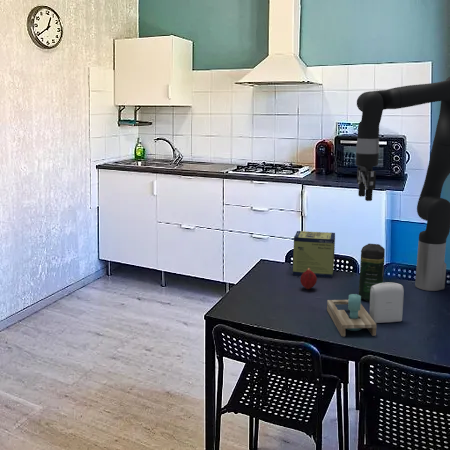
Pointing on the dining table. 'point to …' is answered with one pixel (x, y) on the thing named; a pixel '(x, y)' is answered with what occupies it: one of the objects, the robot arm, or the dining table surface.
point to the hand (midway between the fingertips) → (365, 198)
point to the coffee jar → (371, 268)
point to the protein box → (314, 253)
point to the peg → (354, 308)
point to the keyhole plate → (345, 322)
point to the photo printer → (386, 302)
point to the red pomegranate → (308, 279)
